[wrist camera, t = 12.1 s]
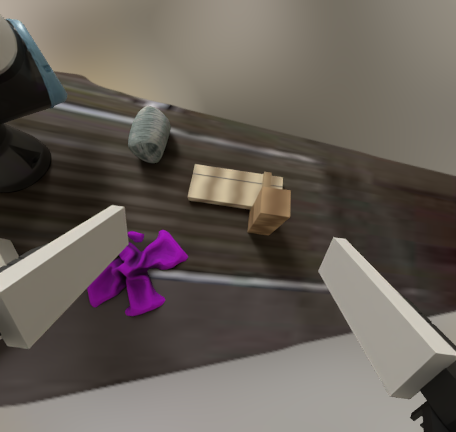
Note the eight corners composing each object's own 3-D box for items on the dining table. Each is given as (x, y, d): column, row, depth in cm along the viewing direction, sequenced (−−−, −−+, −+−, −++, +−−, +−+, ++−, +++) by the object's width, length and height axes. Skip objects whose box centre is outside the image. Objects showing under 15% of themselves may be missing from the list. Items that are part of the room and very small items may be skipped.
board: (188, 200, 45) (187, 196, 43) (195, 168, 48) (195, 164, 46) (278, 213, 45) (281, 210, 43) (280, 181, 48) (282, 177, 46)
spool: (167, 166, 44) (137, 126, 36) (138, 171, 48) (105, 136, 40) (186, 133, 51) (164, 95, 44) (160, 141, 55) (136, 106, 48)
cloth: (194, 236, 42) (191, 229, 37) (168, 326, 36) (158, 335, 30) (100, 214, 43) (82, 204, 37) (58, 300, 36) (28, 304, 31)
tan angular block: (247, 232, 43) (260, 212, 31) (252, 183, 47) (265, 149, 35) (268, 235, 43) (290, 217, 31) (271, 186, 47) (291, 153, 35)
